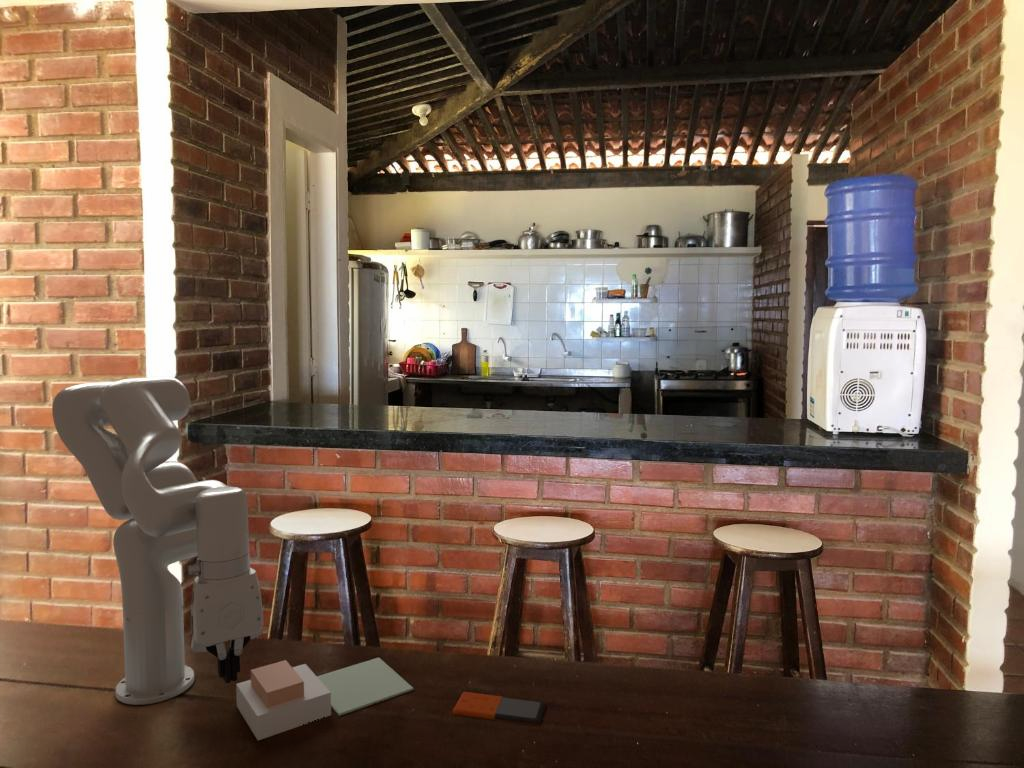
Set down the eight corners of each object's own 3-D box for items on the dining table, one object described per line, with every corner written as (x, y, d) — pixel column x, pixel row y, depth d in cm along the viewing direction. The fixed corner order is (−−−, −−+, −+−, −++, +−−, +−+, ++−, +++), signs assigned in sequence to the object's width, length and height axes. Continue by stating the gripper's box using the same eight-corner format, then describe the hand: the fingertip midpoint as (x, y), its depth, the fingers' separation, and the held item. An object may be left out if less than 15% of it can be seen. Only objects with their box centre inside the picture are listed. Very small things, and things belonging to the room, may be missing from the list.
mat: (309, 680, 125) (309, 678, 125) (378, 659, 133) (378, 657, 133) (339, 715, 114) (339, 713, 113) (413, 690, 122) (413, 687, 122)
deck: (236, 706, 116) (236, 683, 116) (305, 684, 123) (305, 663, 123) (257, 740, 107) (257, 716, 106) (331, 715, 114) (330, 692, 113)
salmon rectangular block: (250, 684, 116) (250, 669, 116) (286, 673, 119) (285, 659, 119) (267, 707, 109) (266, 692, 108) (304, 695, 112) (303, 681, 112)
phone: (462, 689, 121) (545, 700, 118) (462, 696, 121) (545, 707, 118) (451, 709, 114) (539, 721, 111) (451, 717, 115) (539, 729, 111)
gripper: (177, 583, 100) (183, 704, 101) (279, 562, 109) (284, 673, 110) (167, 570, 106) (173, 684, 107) (265, 551, 115) (269, 656, 116)
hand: (229, 678), depth 108 cm, fingers closed
